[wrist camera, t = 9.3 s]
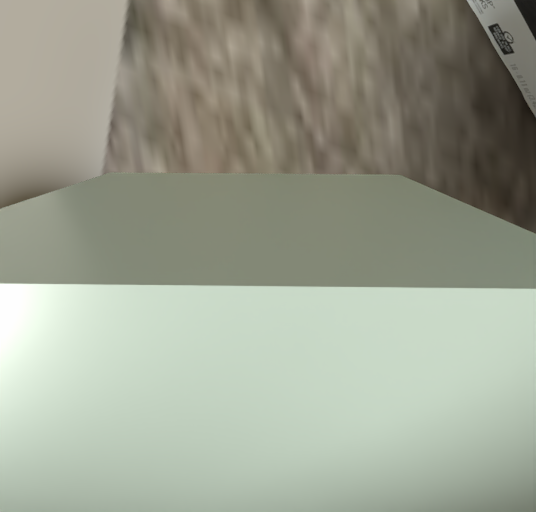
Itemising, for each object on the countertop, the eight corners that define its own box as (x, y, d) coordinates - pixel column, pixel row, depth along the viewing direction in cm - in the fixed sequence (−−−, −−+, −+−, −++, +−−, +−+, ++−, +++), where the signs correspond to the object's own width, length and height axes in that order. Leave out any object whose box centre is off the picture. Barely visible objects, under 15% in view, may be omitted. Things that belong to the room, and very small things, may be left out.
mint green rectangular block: (110, 172, 9) (-221, 281, 3) (400, 174, 9) (663, 289, 3) (152, 540, 13) (41, 932, 7) (360, 544, 13) (441, 941, 7)
